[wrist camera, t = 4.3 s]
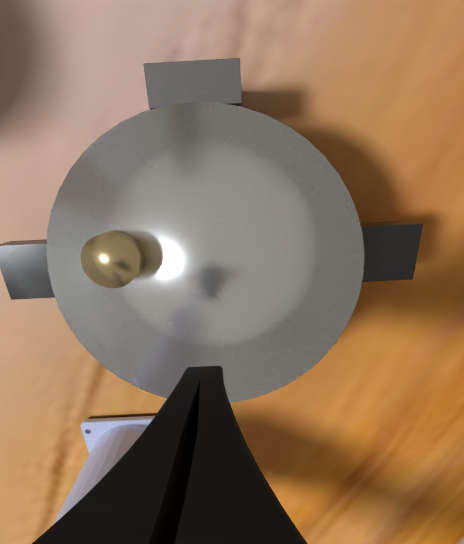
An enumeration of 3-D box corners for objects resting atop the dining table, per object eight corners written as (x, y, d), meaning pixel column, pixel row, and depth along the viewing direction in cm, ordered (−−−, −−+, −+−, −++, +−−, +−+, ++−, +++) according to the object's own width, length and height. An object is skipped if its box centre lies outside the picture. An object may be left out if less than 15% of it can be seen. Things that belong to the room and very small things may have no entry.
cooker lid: (340, 382, 16) (356, 412, 14) (98, 393, 16) (78, 425, 14) (369, 100, 11) (401, 81, 9) (22, 119, 11) (-24, 105, 9)
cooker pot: (366, 330, 20) (399, 365, 16) (74, 344, 20) (37, 383, 16) (398, 81, 14) (458, 45, 11) (6, 104, 15) (-72, 75, 11)
